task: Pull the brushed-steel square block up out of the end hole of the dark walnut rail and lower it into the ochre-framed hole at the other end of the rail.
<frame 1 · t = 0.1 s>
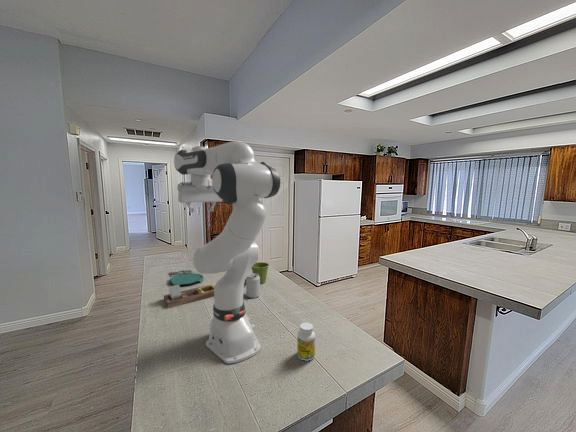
hand: (201, 211, 117), 48 cm above the countertop, tool pointing down, fingers open, 8 cm apart
can: (253, 296, 136), on the countertop
cutlery set: (185, 279, 160), on the countertop
plant pot: (259, 282, 156), on the countertop
steel block: (175, 301, 128), resting in walnut rail
walnut rail: (192, 297, 133), on the countertop
supplement bottle: (305, 356, 88), on the countertop
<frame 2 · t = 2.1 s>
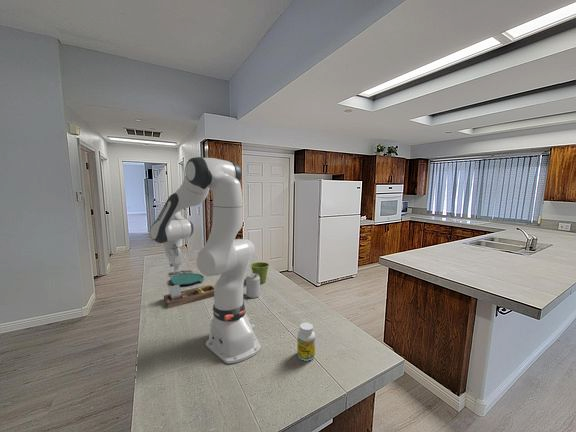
hand: (173, 269, 126), 18 cm above the countertop, tool pointing down, fingers open, 8 cm apart
nothing on the countertop moved.
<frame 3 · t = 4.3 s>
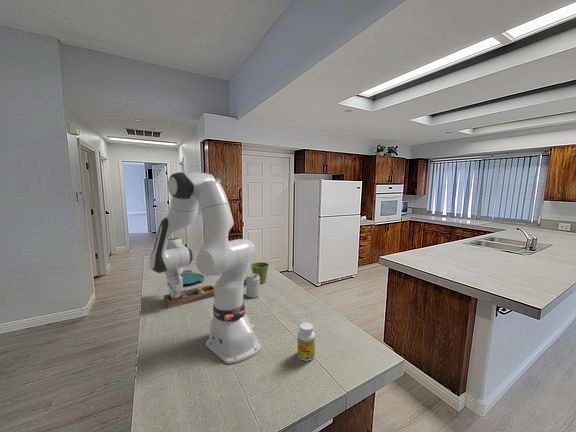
hand: (175, 294, 127), 4 cm above the countertop, tool pointing down, fingers closed on steel block, 5 cm apart
steel block: (175, 301, 128), resting in walnut rail, touching gripper
everything else where it was.
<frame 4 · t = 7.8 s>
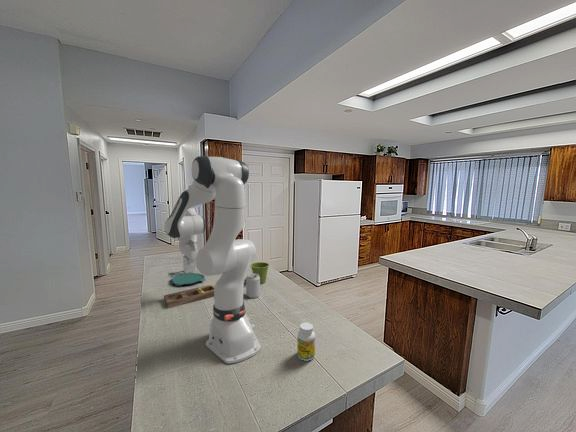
hand: (189, 264, 130), 19 cm above the countertop, tool pointing down, fingers closed on steel block, 5 cm apart
steel block: (189, 270, 130), point 15 cm above the countertop, touching gripper
everything else where it was.
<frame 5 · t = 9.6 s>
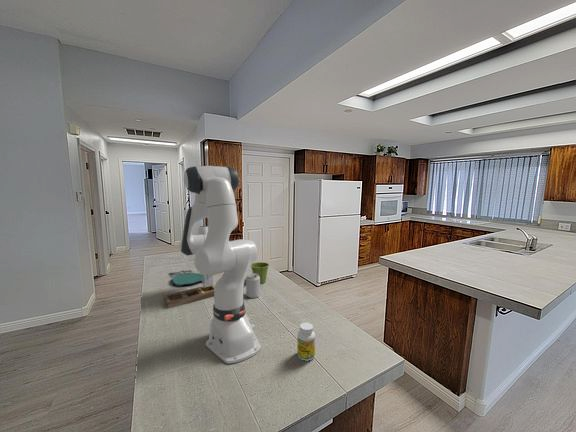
hand: (207, 278, 137), 9 cm above the countertop, tool pointing down, fingers closed on steel block, 5 cm apart
steel block: (207, 284, 137), point 5 cm above the countertop, touching gripper
everything else where it was.
when the fingers open (5 cm above the countertop, at t = 11.2 s): steel block stays where it is, resting in walnut rail.
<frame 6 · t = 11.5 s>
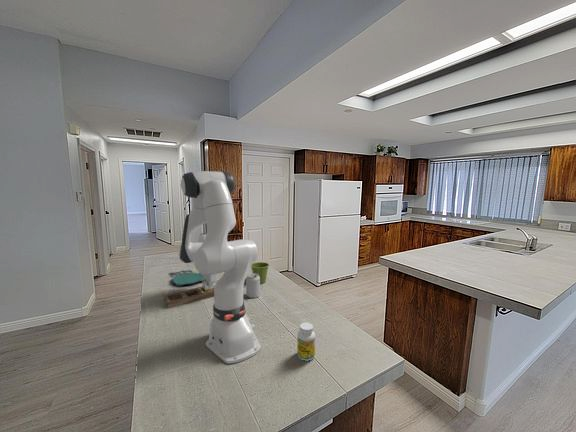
hand: (207, 285, 137), 5 cm above the countertop, tool pointing down, fingers open, 8 cm apart
steel block: (207, 293, 138), resting in walnut rail
everything else where it was.
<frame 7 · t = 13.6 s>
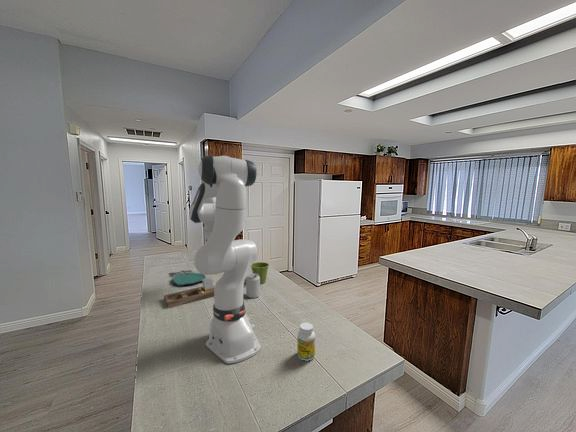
hand: (213, 249, 139), 25 cm above the countertop, tool pointing down, fingers open, 8 cm apart
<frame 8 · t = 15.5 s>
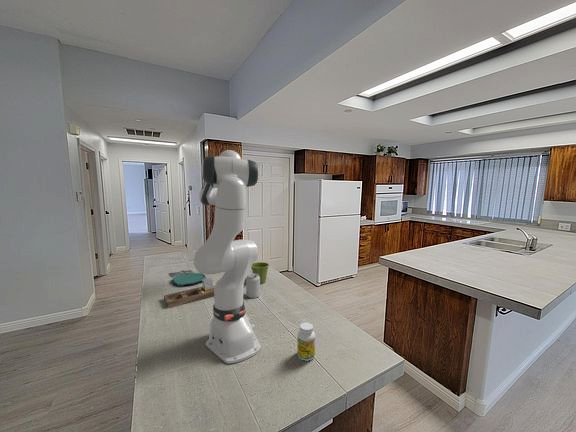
hand: (224, 232, 143), 33 cm above the countertop, tool pointing down, fingers open, 8 cm apart
at the end: steel block 0.1 cm from the target spot on the walnut rail, point 0.0 cm above the walnut rail's base; steel block tilted 0°; the gripper is holding nothing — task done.
